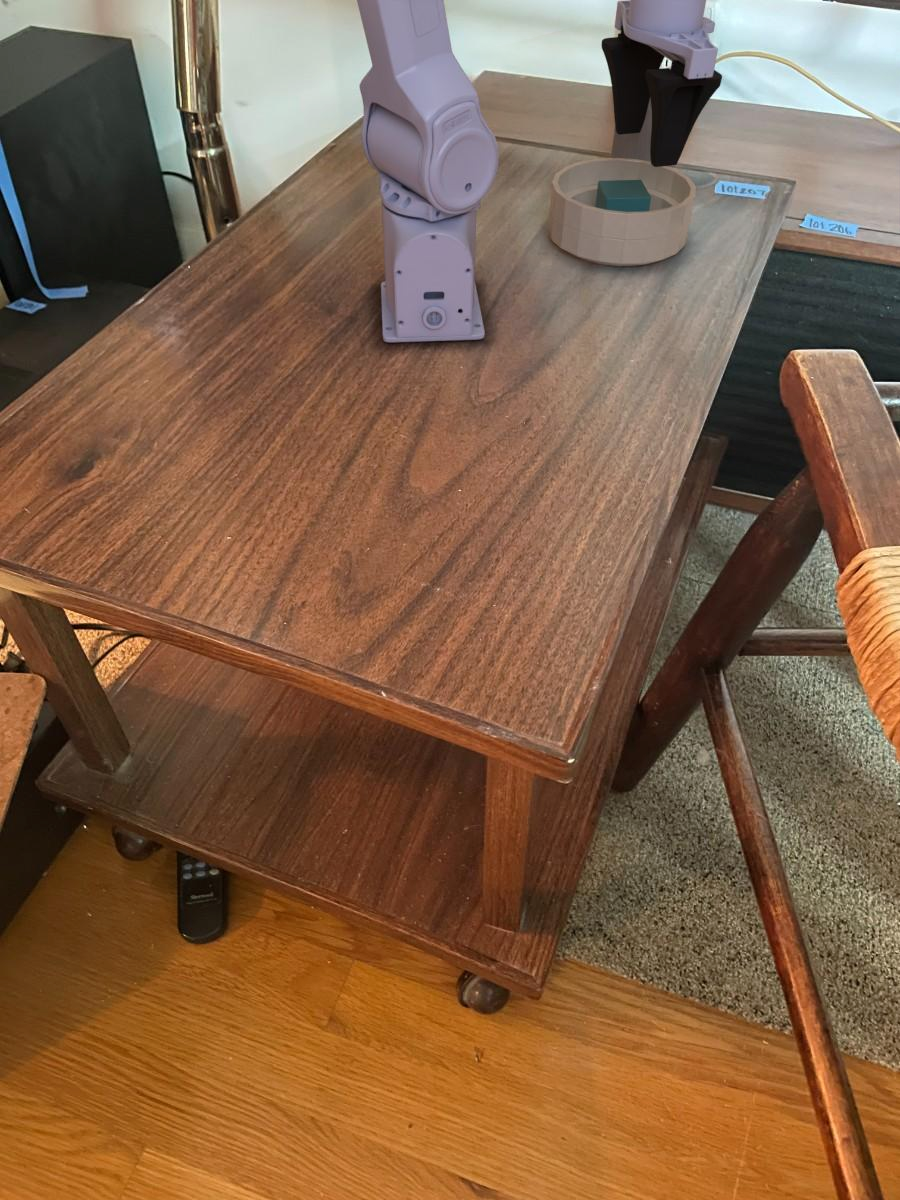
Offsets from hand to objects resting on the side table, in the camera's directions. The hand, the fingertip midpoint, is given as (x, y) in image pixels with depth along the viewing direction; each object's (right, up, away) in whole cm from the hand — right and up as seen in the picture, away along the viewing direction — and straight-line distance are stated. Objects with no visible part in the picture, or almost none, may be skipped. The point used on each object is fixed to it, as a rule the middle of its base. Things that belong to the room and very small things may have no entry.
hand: (645, 148), depth 76 cm
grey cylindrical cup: (+2, +3, +15) cm, 16 cm away
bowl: (-1, -5, +7) cm, 9 cm away
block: (-1, -5, +6) cm, 8 cm away
